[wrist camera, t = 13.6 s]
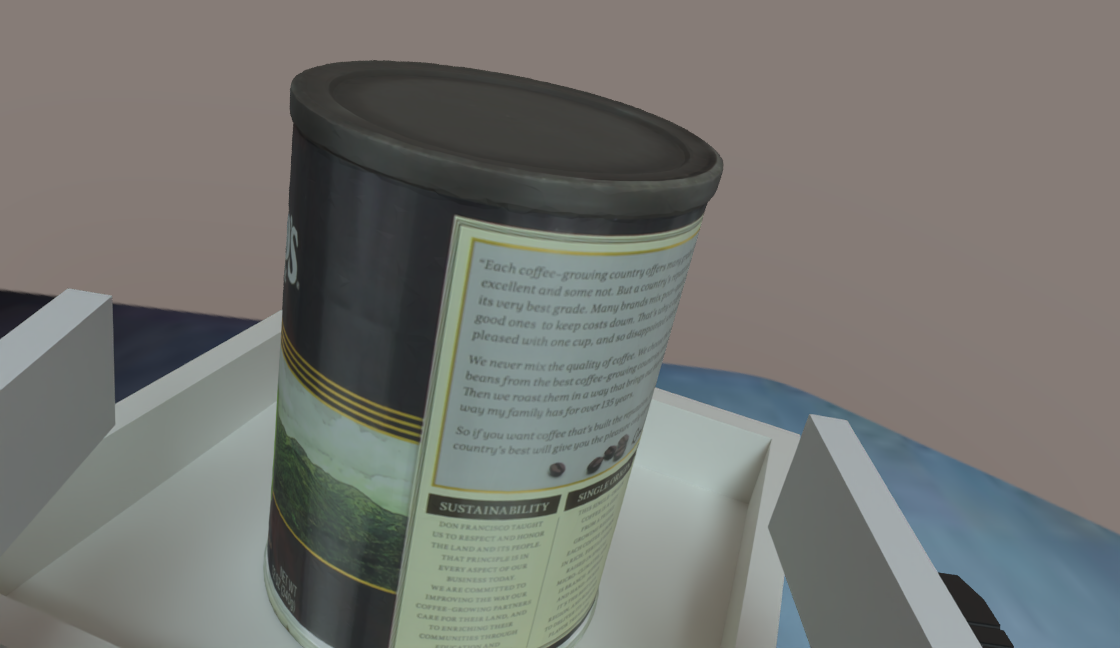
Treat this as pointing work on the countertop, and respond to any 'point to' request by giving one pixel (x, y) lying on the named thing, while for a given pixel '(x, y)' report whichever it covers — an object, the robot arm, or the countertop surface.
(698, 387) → the countertop surface
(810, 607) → the robot arm
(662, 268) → the coffee can
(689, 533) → the box
